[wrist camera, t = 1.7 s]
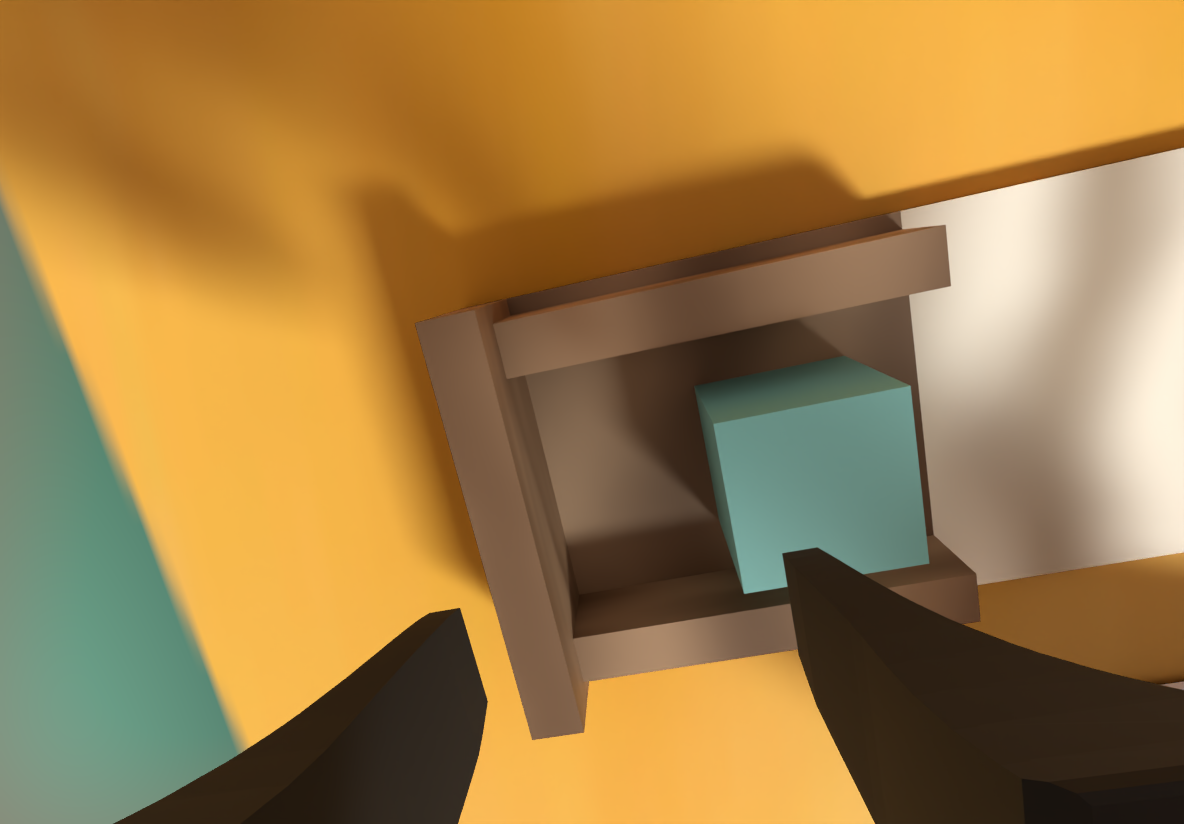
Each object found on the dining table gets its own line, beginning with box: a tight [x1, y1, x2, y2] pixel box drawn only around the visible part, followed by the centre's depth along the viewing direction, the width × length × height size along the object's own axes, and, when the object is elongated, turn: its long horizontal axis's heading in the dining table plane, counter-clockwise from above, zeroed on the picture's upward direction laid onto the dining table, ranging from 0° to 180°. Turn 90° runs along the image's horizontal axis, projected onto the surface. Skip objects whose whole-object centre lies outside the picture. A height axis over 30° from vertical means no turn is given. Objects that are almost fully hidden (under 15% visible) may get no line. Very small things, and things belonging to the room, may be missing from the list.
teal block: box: [694, 356, 929, 594], centre depth 17 cm, size 4×4×4 cm
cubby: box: [415, 148, 1184, 740], centre depth 17 cm, size 22×12×5 cm, turn 103°
